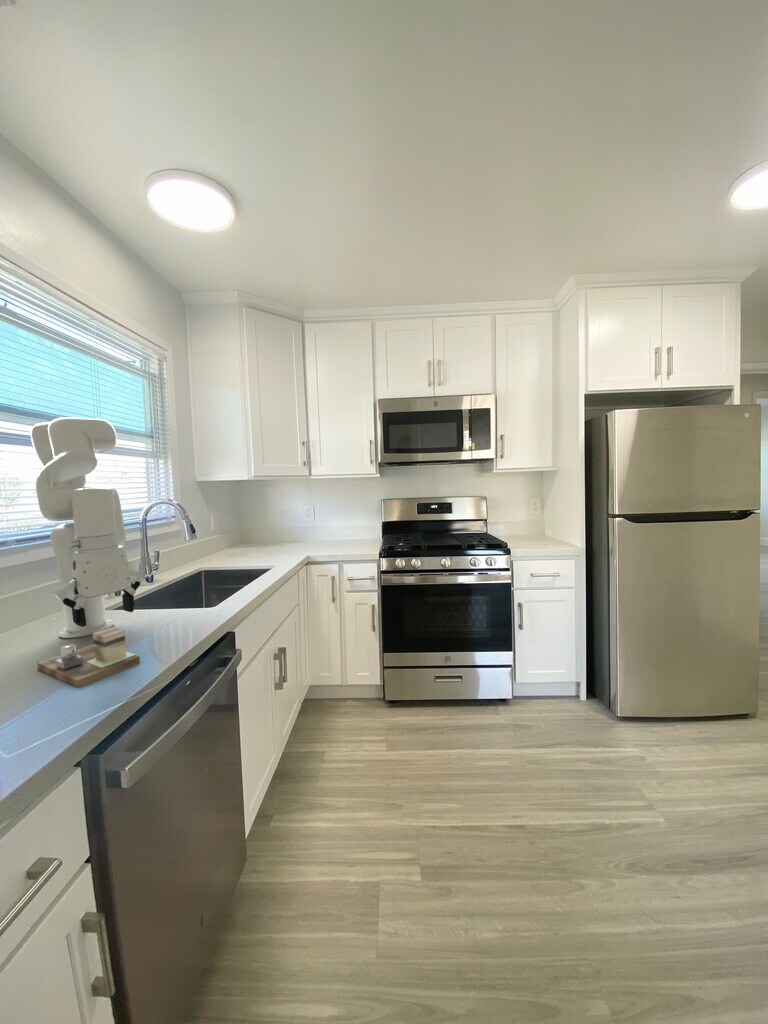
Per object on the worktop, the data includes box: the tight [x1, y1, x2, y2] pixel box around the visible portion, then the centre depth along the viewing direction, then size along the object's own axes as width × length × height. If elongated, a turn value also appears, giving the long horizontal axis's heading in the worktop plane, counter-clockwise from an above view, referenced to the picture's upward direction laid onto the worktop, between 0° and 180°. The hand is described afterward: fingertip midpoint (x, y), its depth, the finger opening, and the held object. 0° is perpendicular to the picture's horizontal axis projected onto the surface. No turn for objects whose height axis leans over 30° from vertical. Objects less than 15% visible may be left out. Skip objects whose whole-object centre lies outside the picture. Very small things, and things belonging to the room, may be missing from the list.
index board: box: [36, 643, 141, 688], centre depth 90 cm, size 20×12×2 cm, turn 59°
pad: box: [86, 650, 137, 668], centre depth 90 cm, size 7×7×1 cm
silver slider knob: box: [55, 643, 84, 670], centre depth 87 cm, size 4×4×4 cm
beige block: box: [92, 627, 127, 663], centre depth 90 cm, size 5×4×6 cm
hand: (106, 618), depth 90 cm, fingers open, 9 cm apart
